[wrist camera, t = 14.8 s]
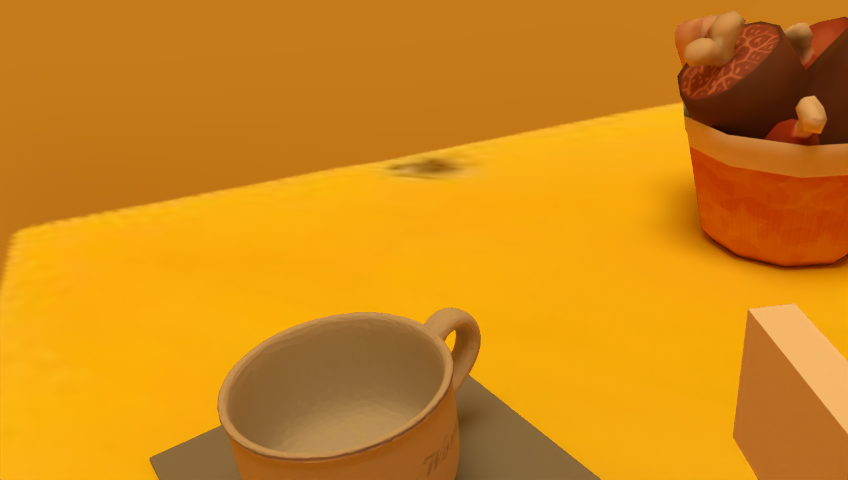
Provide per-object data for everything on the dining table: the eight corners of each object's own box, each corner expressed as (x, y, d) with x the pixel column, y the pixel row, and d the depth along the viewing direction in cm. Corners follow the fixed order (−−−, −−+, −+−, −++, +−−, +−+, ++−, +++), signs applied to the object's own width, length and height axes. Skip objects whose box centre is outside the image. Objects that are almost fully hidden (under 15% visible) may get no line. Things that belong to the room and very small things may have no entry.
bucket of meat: (749, 315, 49) (793, 2, 39) (616, 218, 63) (626, -29, 54) (983, 250, 53) (1070, -43, 44) (811, 173, 67) (850, -60, 58)
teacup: (298, 636, 31) (263, 496, 27) (221, 477, 39) (186, 354, 35) (560, 489, 36) (560, 356, 33) (444, 378, 45) (433, 264, 41)
